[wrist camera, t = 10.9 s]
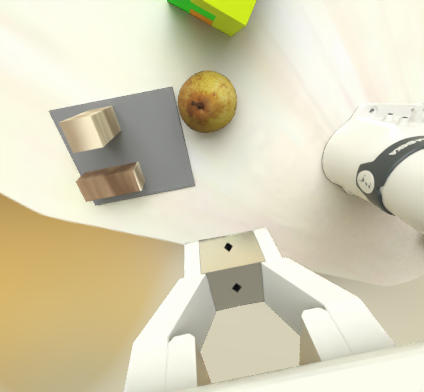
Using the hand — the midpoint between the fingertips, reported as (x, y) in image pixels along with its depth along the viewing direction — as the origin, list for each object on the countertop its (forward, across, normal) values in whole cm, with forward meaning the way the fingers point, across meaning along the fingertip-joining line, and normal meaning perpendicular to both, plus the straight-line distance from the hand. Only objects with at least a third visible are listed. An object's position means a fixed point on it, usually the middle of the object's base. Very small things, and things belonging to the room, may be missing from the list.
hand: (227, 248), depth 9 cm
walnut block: (+33, +12, +9) cm, 36 cm away
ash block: (+35, +15, -1) cm, 38 cm away
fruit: (+35, -2, -1) cm, 35 cm away
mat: (+35, +13, +5) cm, 38 cm away
